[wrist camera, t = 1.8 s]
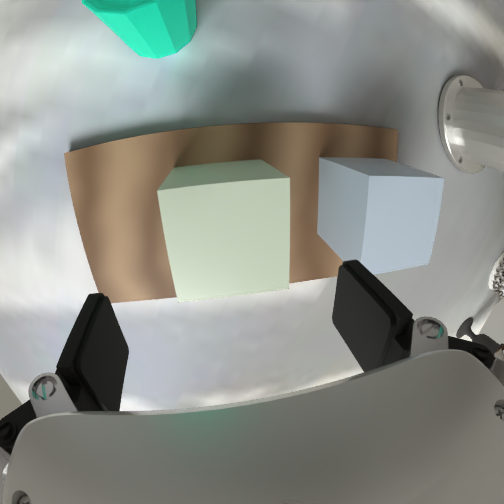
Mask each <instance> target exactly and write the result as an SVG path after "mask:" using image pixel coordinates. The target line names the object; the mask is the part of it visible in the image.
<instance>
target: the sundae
mask: <svg viewBox="0 0 504 504" xmlns="http://www.w3.org/2000/svg"><path fill="white" fill-rule="evenodd" d="M472 323H473V318H469V319H467V320H466V321H465V322H464V323H463V324H462V325H461V326H460V328H459V330H458V331H457V338H461V337H462V336H464V335H468V336H469V337H470V338H471V339H472V342H475V343H479V344H482V345H484V346H486V347H487V348H488V349H489V350H490V351H491V353H492V354H493V358H494V360H496V358H498V359H500V360H502V361H504V353H503V350H504V344H501V345H499V344H498V343H496V342H495V341H494V340H492V339H491V338H490V337H488V336H487V335H485V334H479V335H475V334H474V333H473V332H472V330H471V326H472Z"/></svg>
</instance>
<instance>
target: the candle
mask: <svg viewBox="0 0 504 504" xmlns="http://www.w3.org/2000/svg"><path fill="white" fill-rule="evenodd" d="M82 3H83V4H84V5H85V6H86V7H87V8H88V9H89V10H91V11H92V12H93V13H94V14H95V15H96V16H97V17H98V18H99V19H100V20H102V21H103V22H104V23H105V24H106V25H107V26H108V27H109V28H110V29H111V30H112V31H113V32H114V33H115V34H116V35H117V36H118V37H120V38H121V39H122V40H123V41H124V42H125V43H126V44H127V45H128V46H129V47H130V48H131V49H132V50H134V51H135V52H136V53H137V54H138V55H139V56H142V57H150V58H157V59H158V58H161V57H165V56H168V55H171V54H175V53H177V52H178V51H179V50H180V49H182V48H183V47H184V46H185V45H186V44H188V43H189V42H190V41H191V39H192V36H193V34H194V32H195V29H196V27H197V20H196V1H195V0H82Z"/></svg>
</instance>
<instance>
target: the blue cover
mask: <svg viewBox="0 0 504 504" xmlns="http://www.w3.org/2000/svg"><path fill="white" fill-rule="evenodd" d="M443 184H444V178H442V177H439V176H436V175H434V174H431V173H428V172H425V171H422V170H419V169H416V168H413V167H410V166H407V165H404V164H401V163H397V162H394V161H391V160H387V159H377V158H345V157H319V195H318V223H317V234H318V235H319V236H320V237H321V238H322V239H323V240H324V241H325V242H326V243H327V244H328V245H329V247H330V248H331V249H332V250H333V251H334V252H335V253H336V254H337V255H338V256H339V257H340V258H341V259H342V260H343V262H344V261H348V260H355V259H357V260H358V261H359V262H360V263H361V264H363V265H364V266H365V267H366V268H367V269H368V270H369V271H370V272H371V273H372V274H373V275H375V274H380V273H386V272H391V271H396V270H401V269H406V268H411V267H416V266H421V265H426V264H429V261H430V257H431V252H432V248H433V244H434V239H435V234H436V229H437V224H438V218H439V212H440V206H441V200H442V192H443Z"/></svg>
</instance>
